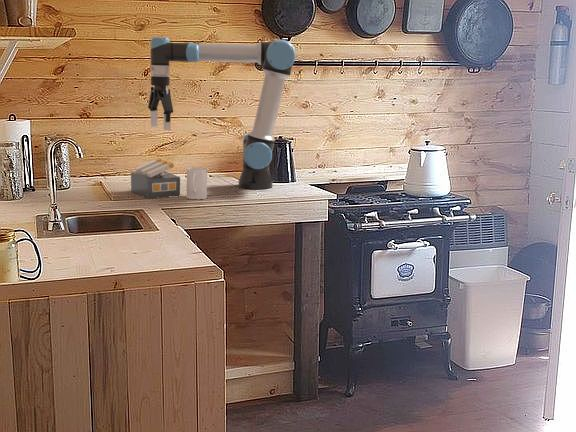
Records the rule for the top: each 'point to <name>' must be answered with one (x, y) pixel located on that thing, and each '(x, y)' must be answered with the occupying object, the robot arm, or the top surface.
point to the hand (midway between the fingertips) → (160, 128)
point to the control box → (155, 185)
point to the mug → (196, 183)
